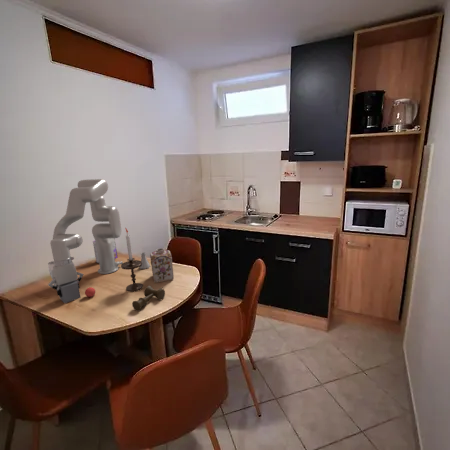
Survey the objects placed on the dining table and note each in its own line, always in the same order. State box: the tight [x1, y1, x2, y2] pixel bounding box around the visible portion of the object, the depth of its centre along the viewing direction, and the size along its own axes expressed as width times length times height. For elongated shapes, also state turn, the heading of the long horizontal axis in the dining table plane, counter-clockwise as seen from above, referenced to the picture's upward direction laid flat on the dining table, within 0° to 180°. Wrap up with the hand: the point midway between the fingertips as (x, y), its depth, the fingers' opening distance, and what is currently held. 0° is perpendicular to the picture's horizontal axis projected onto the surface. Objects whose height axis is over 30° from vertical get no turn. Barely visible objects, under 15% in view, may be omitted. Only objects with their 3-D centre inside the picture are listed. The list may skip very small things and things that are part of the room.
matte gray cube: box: [58, 281, 81, 304], centre depth 144 cm, size 8×8×9 cm
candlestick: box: [120, 227, 144, 293], centre depth 149 cm, size 11×11×35 cm
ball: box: [84, 286, 96, 298], centre depth 145 cm, size 5×5×5 cm
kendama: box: [131, 285, 166, 312], centre depth 138 cm, size 6×10×20 cm
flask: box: [138, 252, 151, 270], centre depth 182 cm, size 7×7×10 cm
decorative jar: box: [149, 247, 175, 284], centre depth 163 cm, size 12×12×18 cm
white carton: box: [92, 238, 119, 264], centre depth 197 cm, size 14×6×16 cm, turn 145°
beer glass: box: [47, 260, 57, 286], centre depth 158 cm, size 7×7×15 cm
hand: (69, 292), depth 144 cm, fingers closed on matte gray cube, 7 cm apart
